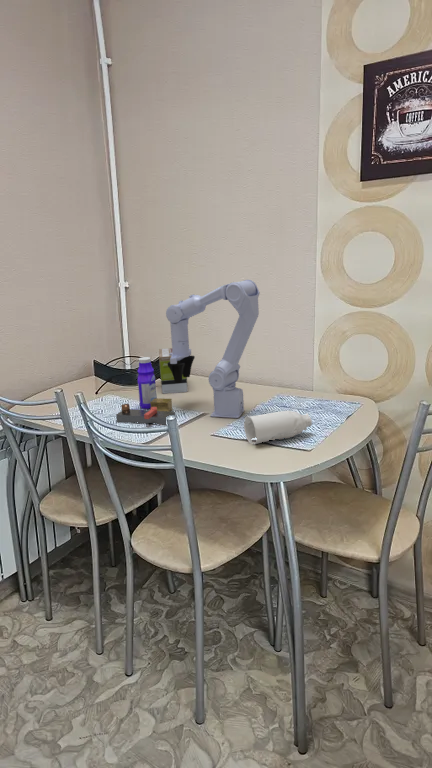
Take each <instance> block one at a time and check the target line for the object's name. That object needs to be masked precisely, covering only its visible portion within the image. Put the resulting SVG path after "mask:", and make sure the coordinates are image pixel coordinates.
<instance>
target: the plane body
mask: <svg viewBox="0 0 432 768" xmlns="http://www.w3.org/2000/svg"><path fill="white" fill-rule="evenodd" d="M150 410H151V409H148V410H147V409H132V408H131V407H130V403H123V404H121V410H120V412H118V413H117V414H115V415H116V416H115V417H116V423H125V422H136V423H135V424H140V423H157V424H162V425H161V426H167V425H166V417H167V416H169V415H175V416H176V412H175V411H170V412H169V411H157V414H155V415H153V416H152V417H151V418H149V419H144V414H146V413H147V412H148V411H150ZM137 422H138V423H137Z"/></svg>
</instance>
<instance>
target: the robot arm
mask: <svg viewBox="0 0 432 768" xmlns="http://www.w3.org/2000/svg"><path fill="white" fill-rule="evenodd" d="M260 295H261V293H260V290H259V288H258V286H257V284H256V282H254V281H253V280H252V279H245V280H242V281H233V282H230V283H227V284H223V285H220V286H219V287H217V288H215V289H213V290H211V291H210V292H207V293H206V294H204V295H200V294H190V295H188V298H186V299H185V300H182V299H181V300H180V301H178V303H177V304H171V305H170V306H168V307H167V309H166V310H165V317H166V318H167V320H168V322H169V324H170V334H171V335H170V336H171V337H170V338H171V348H172V353H169V356H171V358H170V362H168V367H169V368H170V370H171V372H172V374H173V377H174V380H175V383H182V374H183V377H187V378H190V377H191V371H192V366H193V363H194V360H195V355H192V349H191V348H190V343H189V340H190V339H189V319H190V318H192V317H194V316H196V315H199V314H200V313H203V312H204V311H205V310H206V307H207V306H209V305H211V304H213V303H216V302H218V301H220V300H224V301H228V302H229V303H230V304H231V306H232V307H233V308H234V309H235V310H236V311H237V313H238V315H239V316H238V318H237V321H236V323H235V326H234V329H233V331H232V333H231V335H230V338H229V341H228V343H227V346H226V347H225V350H224V353H223V356H222V358H221V359H220V361H219V362H218V363H216V365H215V367H214V369H213V371H211V372H210V373H209V376H208V383H209V386H210V387H211V388H212V390H213V407H214V408H213V412H212V413H211V414H210V417H213V418H214V417H216V418H228V419H229V418H230V419H231V418H232V419H239V418H240V417H241V416H242V414H243V413H244V412H245V407H244V405H245V403H244V401H245V400H244V391H243V388H239V387H236V386H237V383H236V382H237V381H238V380H239V377H240V373H239V372H240V368H241V365H240V364H239V363H240V360H241V358H242V355H243V353H244V350H245V349H246V346H247V343H248V341H249V339H250V336H251V334H252V332H253V329H254V327H255V324H256V323H257V321H258V317H259V316H260V315H259V314H260V310H259V296H260Z"/></svg>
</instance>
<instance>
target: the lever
mask: <svg viewBox="0 0 432 768" xmlns="http://www.w3.org/2000/svg"><path fill="white" fill-rule="evenodd" d="M149 410H150V411H148V412H147V413H146V414H144V419H149V418H151V417H152V416H153V415H155V414H157V407H151V408H150V409H149Z"/></svg>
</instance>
